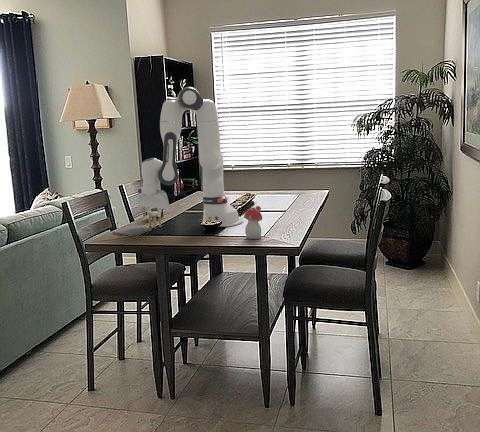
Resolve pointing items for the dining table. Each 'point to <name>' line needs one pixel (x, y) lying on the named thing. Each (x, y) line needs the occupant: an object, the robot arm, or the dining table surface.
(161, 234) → the dining table surface
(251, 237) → the decorative ornament
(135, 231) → the mat
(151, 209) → the medicine bottle
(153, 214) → the mini stool
